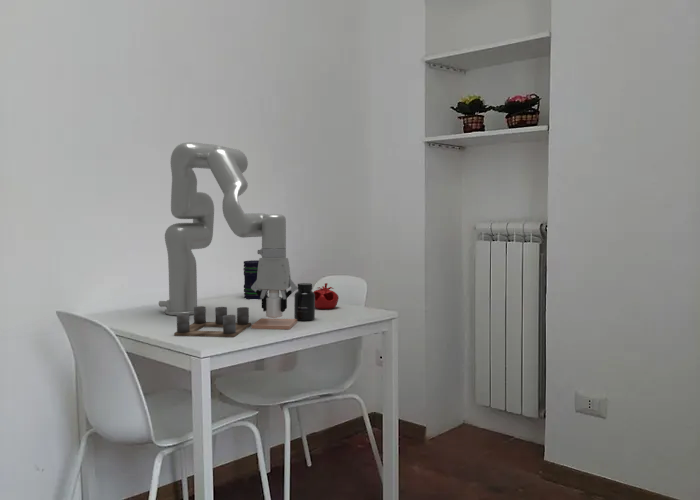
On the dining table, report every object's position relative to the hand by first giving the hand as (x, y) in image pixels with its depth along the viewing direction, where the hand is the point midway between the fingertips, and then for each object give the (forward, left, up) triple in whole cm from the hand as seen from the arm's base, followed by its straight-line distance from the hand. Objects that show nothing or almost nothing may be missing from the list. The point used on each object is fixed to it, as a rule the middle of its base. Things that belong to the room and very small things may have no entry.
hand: (274, 310), depth 203 cm
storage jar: (-21, +57, -5) cm, 61 cm away
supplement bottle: (+8, +11, -5) cm, 14 cm away
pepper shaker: (0, 0, -2) cm, 2 cm away
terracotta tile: (0, 0, -5) cm, 5 cm away
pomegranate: (+11, +35, -5) cm, 37 cm away
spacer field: (-16, -10, -5) cm, 20 cm away
